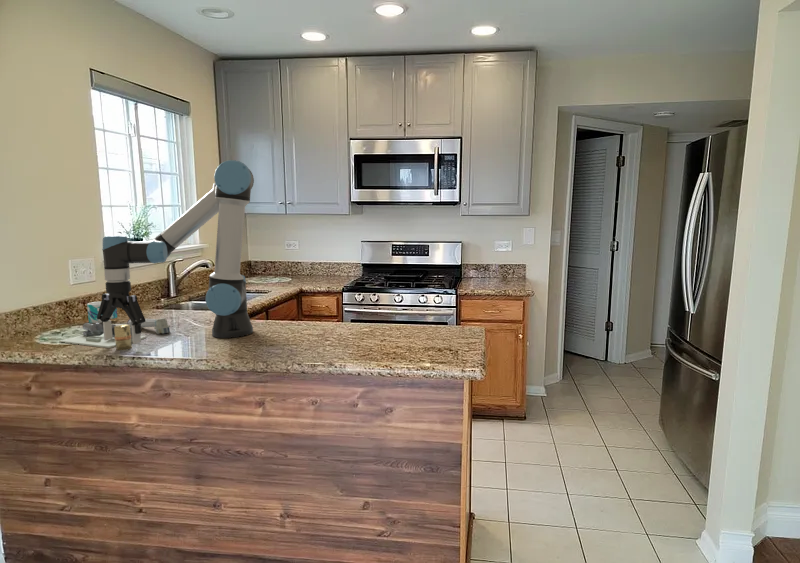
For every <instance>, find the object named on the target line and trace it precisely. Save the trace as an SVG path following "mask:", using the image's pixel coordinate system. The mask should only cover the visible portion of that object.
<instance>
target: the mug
mask: <svg viewBox="0 0 800 563" xmlns="http://www.w3.org/2000/svg"><path fill="white" fill-rule="evenodd" d="M101 301H102V300H101ZM101 301H92V302H88V303H87V304H86V308H87V318H88V323H90V324H95V323H100V324H102V321H101V320H100V319H97V315H98V312H99V308H100V305H101ZM116 318H118V307H117V308H116V309H115V311H114V312H113V314H112V316H111V318H110V319H111V320H112V319H116ZM108 321H110V320H108Z"/></svg>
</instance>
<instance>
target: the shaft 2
mask: <svg viewBox="0 0 800 563" xmlns="http://www.w3.org/2000/svg"><path fill="white" fill-rule="evenodd" d="M114 326H117V325H116V324H115V323H114V324H112V336H113V337H114V336H115V332H114ZM130 332H131V339H132V327H130Z"/></svg>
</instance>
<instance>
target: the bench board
mask: <svg viewBox="0 0 800 563" xmlns="http://www.w3.org/2000/svg"><path fill="white" fill-rule="evenodd" d="M144 339H147V337H146V336H143V335H141V340H144ZM58 342H59V343H61V342H65V343H64V344H70V343H72V344H71V345H78V344H79V345H80V346H87V347H88V346H89V347H94V348H95V347H97V348H104V349H111V348H116V343H115V337H113V339H109V340H104V333H103V334H102V335H100V336H95V335H94V336H88V337H86V336H83V334H80V335H78V336H72V337H69V338H65V339H61V340H59V341H58ZM131 343H133V340H132V339H131Z"/></svg>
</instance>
